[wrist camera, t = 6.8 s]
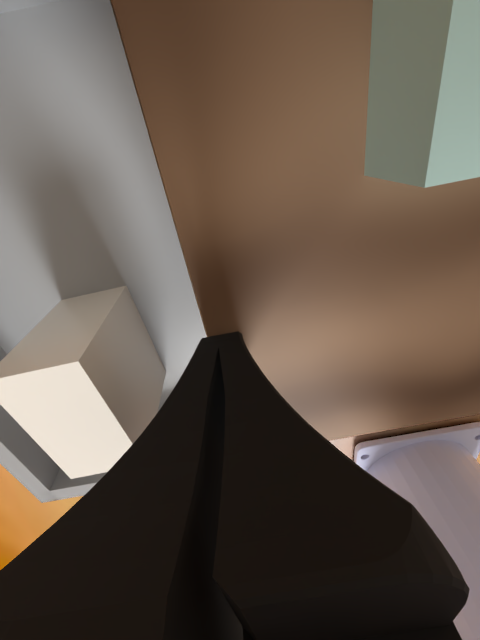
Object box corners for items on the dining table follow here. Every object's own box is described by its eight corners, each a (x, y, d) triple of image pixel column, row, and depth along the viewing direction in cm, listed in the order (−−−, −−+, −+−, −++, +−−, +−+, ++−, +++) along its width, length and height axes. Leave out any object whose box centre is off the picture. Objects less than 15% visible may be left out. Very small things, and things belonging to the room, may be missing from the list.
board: (532, 363, 15) (581, 396, 13) (238, 415, 16) (241, 455, 14) (808, -212, 6) (1084, -378, 4) (114, -55, 7) (71, -140, 5)
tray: (231, 416, 16) (234, 469, 13) (69, 445, 16) (42, 502, 13) (98, -52, 7) (29, -167, 4) (-261, 31, 7) (-528, -34, 5)
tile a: (146, 464, 9) (70, 479, 10) (166, 372, 13) (112, 383, 13) (78, 361, 7) (-21, 382, 7) (126, 285, 11) (61, 300, 11)
